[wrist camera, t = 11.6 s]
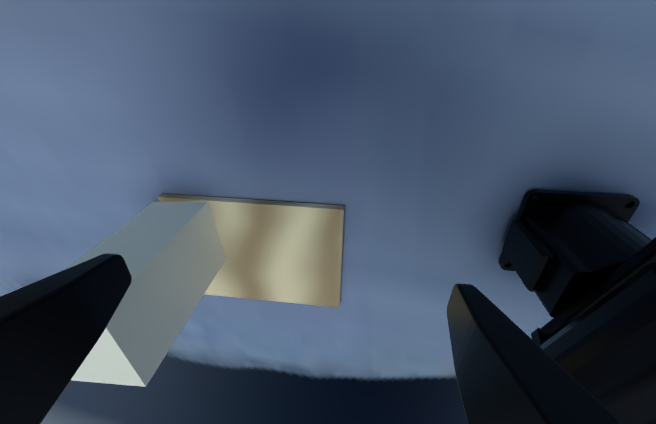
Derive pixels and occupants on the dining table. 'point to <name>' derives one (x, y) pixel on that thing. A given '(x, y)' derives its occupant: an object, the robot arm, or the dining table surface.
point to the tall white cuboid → (154, 288)
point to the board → (276, 249)
